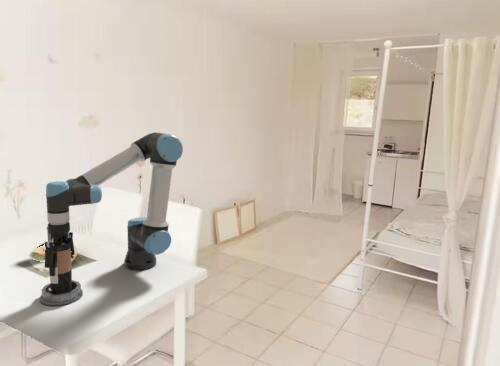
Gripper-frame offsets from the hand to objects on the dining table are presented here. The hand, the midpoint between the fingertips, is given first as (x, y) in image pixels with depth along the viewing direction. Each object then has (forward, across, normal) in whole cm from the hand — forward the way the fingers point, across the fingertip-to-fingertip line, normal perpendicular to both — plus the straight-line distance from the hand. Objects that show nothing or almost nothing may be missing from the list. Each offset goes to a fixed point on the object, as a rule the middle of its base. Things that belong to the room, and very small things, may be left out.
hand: (61, 278), depth 147 cm
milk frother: (+8, -41, -33) cm, 53 cm away
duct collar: (+8, 0, 0) cm, 8 cm away
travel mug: (+5, 0, 0) cm, 5 cm away
